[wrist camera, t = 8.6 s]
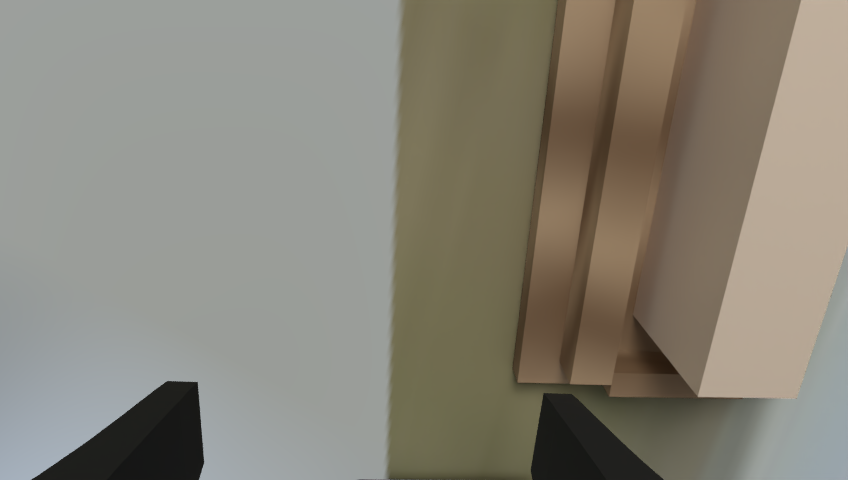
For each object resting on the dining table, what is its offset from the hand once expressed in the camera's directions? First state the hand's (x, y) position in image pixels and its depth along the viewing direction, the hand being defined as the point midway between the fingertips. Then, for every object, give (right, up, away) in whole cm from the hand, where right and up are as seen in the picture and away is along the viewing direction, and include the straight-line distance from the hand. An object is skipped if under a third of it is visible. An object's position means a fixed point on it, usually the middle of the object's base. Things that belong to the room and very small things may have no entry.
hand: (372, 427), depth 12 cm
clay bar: (+11, +7, +7) cm, 15 cm away
